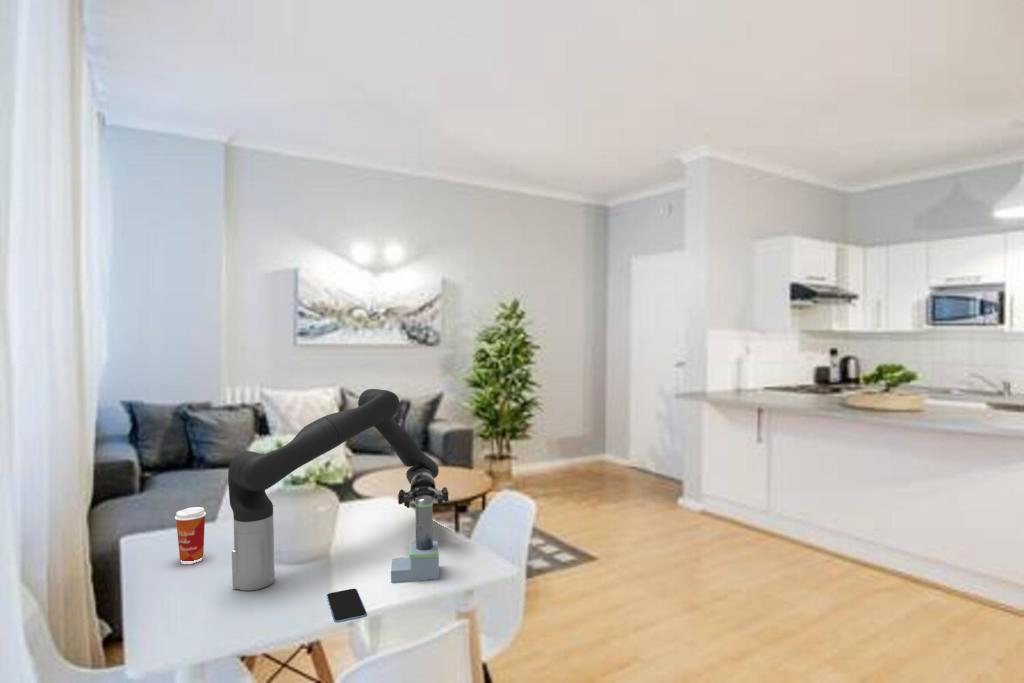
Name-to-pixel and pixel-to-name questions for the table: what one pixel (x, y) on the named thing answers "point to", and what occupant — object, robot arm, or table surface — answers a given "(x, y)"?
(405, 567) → the blue-grey stepped block
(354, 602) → the smartphone
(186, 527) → the paper cup
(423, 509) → the steel thermos flask
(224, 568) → the table surface
